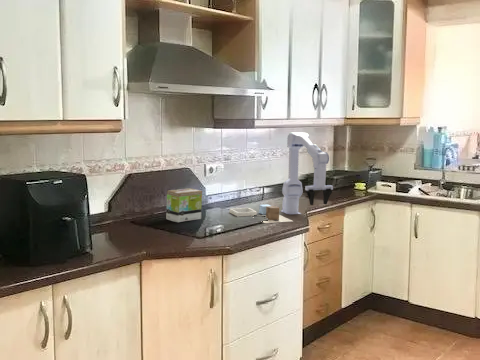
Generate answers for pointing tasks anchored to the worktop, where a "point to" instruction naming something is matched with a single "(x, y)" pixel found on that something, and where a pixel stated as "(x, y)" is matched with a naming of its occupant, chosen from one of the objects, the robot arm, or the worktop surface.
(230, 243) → the worktop surface
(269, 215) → the walnut block
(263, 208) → the blue cube
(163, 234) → the worktop surface
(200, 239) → the worktop surface
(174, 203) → the tea box
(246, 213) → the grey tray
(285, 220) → the letter board
